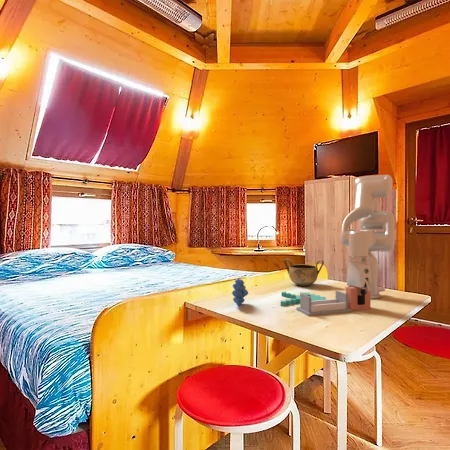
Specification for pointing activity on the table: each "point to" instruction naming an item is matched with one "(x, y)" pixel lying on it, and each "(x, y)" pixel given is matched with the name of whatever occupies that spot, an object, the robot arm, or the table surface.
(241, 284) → the grapes
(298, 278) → the ceramic bowl
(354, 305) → the salmon pink rectangular block
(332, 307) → the track
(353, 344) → the table surface
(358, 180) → the robot arm
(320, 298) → the alien figure
